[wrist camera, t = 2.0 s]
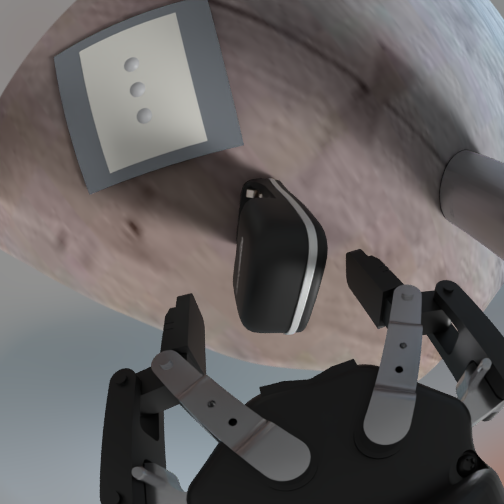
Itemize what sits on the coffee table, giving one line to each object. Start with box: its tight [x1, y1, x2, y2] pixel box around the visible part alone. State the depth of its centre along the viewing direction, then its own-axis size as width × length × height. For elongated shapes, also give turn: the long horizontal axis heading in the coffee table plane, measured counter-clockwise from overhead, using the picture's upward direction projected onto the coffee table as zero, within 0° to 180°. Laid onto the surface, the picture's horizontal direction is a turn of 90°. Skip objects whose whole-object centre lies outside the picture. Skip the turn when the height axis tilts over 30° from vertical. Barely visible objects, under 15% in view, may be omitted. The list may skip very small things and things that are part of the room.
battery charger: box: [233, 178, 328, 335], centre depth 18 cm, size 7×4×11 cm, turn 172°
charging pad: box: [54, 0, 244, 194], centre depth 16 cm, size 13×13×1 cm
